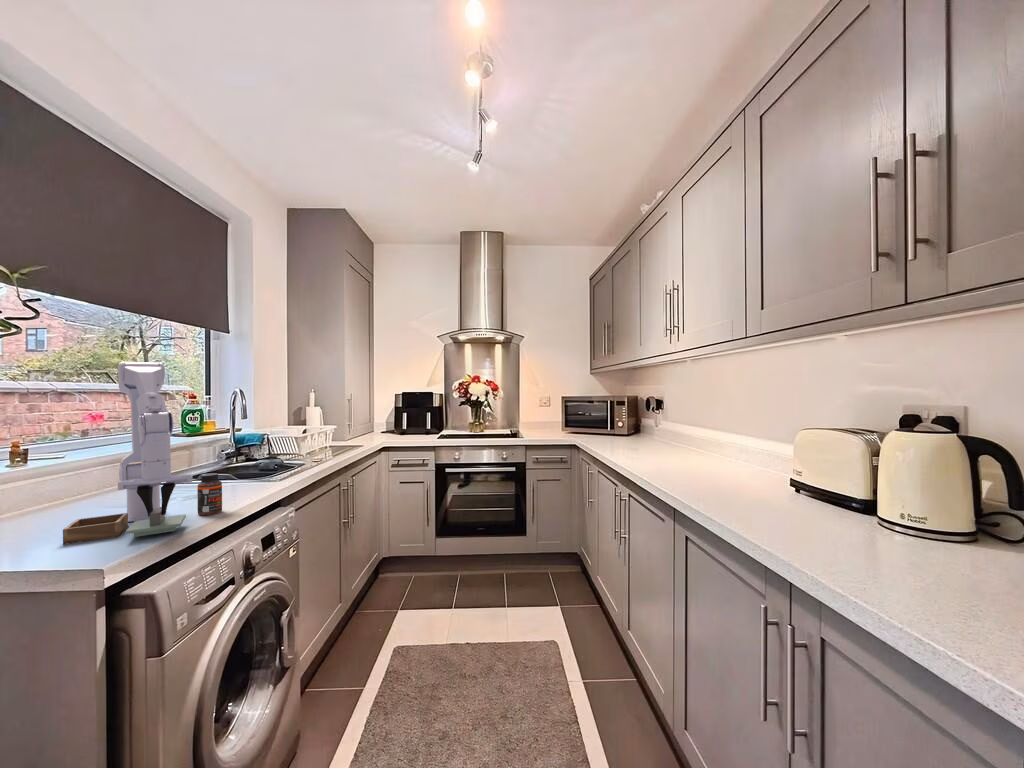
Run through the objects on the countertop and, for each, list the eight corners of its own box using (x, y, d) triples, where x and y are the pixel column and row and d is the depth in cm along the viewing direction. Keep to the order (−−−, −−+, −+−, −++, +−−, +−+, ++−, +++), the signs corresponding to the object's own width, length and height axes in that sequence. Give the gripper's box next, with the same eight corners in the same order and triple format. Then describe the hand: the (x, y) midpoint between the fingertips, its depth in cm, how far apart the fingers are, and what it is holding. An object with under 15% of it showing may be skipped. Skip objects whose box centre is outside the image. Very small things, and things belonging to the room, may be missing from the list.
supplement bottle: (209, 516, 126) (209, 476, 126) (192, 515, 127) (191, 476, 127) (227, 510, 132) (226, 472, 132) (210, 510, 133) (209, 472, 133)
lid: (135, 528, 114) (135, 509, 114) (185, 521, 119) (185, 502, 119) (125, 539, 105) (125, 518, 105) (180, 531, 110) (180, 511, 110)
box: (77, 533, 114) (76, 519, 114) (128, 526, 119) (127, 512, 119) (62, 544, 105) (62, 529, 105) (118, 536, 110) (118, 522, 110)
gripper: (114, 465, 105) (114, 523, 104) (190, 459, 112) (190, 513, 112) (121, 461, 111) (122, 516, 110) (193, 456, 118) (193, 507, 118)
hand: (157, 514), depth 112 cm, fingers closed on lid
